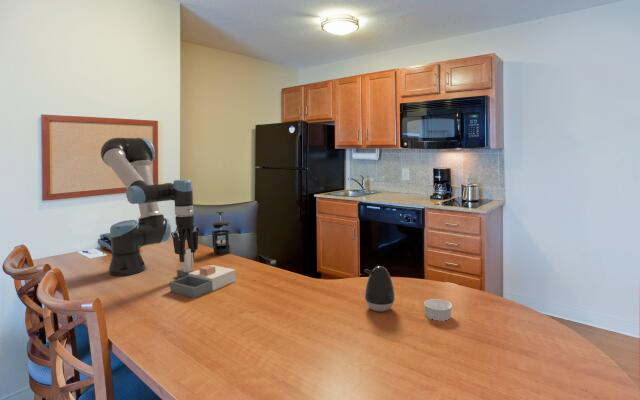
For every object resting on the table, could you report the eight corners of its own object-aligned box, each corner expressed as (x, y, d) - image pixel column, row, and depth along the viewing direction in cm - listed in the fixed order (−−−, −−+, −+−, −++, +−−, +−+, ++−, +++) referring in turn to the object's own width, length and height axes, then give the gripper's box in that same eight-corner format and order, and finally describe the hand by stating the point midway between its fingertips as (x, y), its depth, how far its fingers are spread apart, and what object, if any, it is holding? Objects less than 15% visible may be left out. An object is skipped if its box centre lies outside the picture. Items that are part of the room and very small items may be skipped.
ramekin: (445, 325, 115) (445, 312, 115) (419, 317, 121) (419, 304, 121) (456, 315, 122) (456, 303, 121) (430, 308, 128) (431, 296, 127)
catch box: (170, 291, 146) (169, 281, 146) (188, 284, 154) (188, 275, 153) (194, 298, 139) (193, 288, 138) (212, 290, 146) (211, 281, 146)
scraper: (177, 276, 164) (175, 248, 163) (182, 274, 167) (181, 246, 165) (193, 280, 159) (192, 251, 157) (199, 278, 161) (197, 249, 160)
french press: (235, 252, 204) (233, 211, 201) (222, 256, 196) (220, 213, 194) (220, 249, 211) (218, 209, 208) (207, 253, 203) (205, 212, 200)
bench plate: (189, 284, 154) (188, 273, 153) (212, 275, 165) (212, 265, 164) (212, 290, 146) (212, 278, 146) (235, 281, 157) (235, 269, 157)
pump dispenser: (361, 303, 132) (361, 262, 131) (389, 302, 133) (390, 261, 131) (367, 315, 122) (367, 271, 120) (398, 314, 123) (398, 270, 121)
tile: (199, 273, 152) (199, 267, 152) (208, 270, 156) (207, 265, 156) (207, 275, 150) (206, 269, 149) (215, 272, 154) (215, 266, 153)
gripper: (174, 218, 151) (177, 274, 154) (205, 213, 164) (207, 264, 167) (162, 217, 155) (166, 271, 158) (193, 212, 168) (196, 261, 171)
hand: (187, 267), depth 162 cm, fingers open, 3 cm apart
